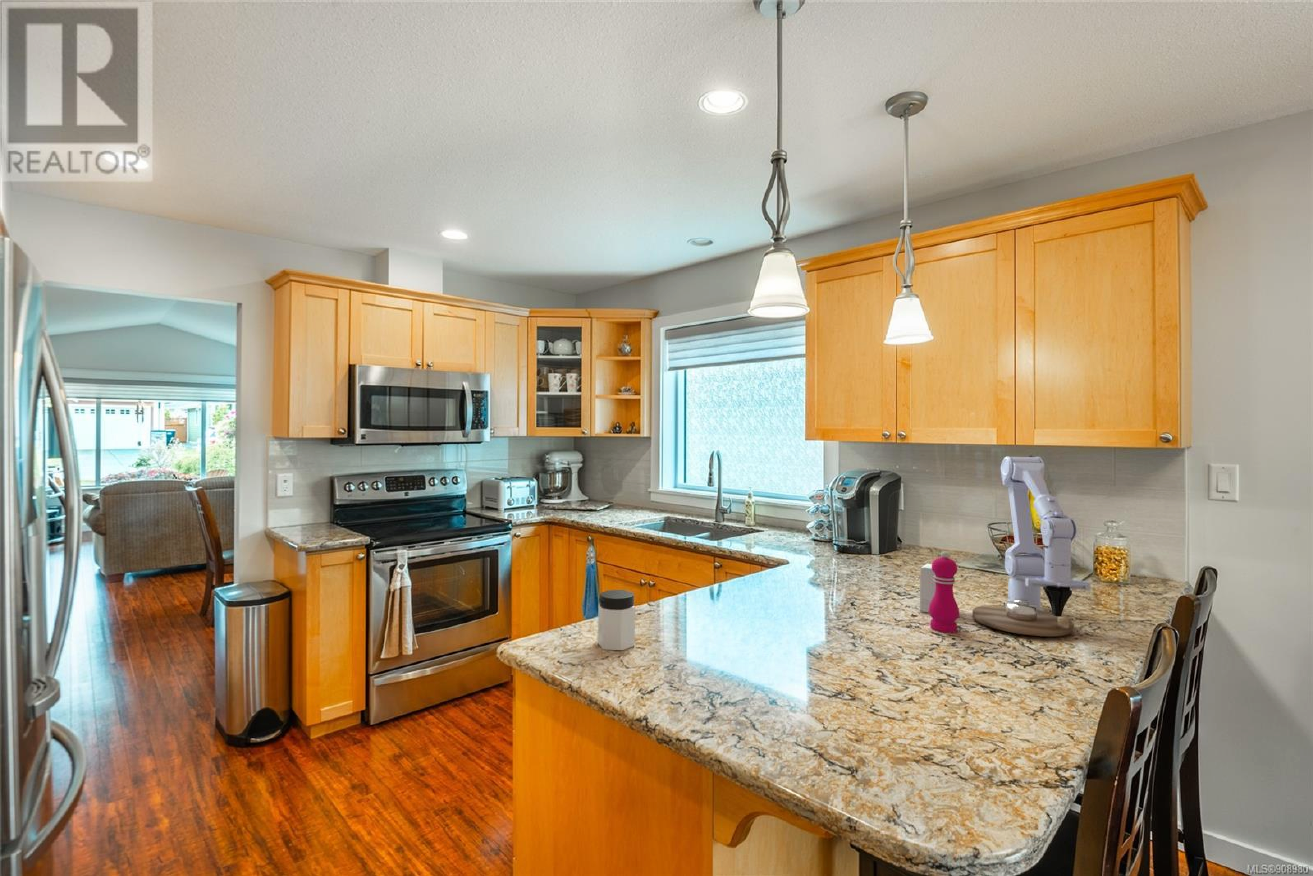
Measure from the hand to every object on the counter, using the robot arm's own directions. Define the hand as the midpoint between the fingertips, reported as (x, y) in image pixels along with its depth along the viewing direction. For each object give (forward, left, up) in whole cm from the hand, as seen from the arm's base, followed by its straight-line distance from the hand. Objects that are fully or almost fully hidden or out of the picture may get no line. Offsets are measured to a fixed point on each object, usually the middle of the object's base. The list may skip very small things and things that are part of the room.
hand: (1056, 615), depth 160 cm
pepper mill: (+8, -29, -3) cm, 31 cm away
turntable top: (0, -8, -3) cm, 9 cm away
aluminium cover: (0, -9, -1) cm, 9 cm away
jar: (+39, -108, -3) cm, 115 cm away
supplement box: (-9, -27, -3) cm, 29 cm away
